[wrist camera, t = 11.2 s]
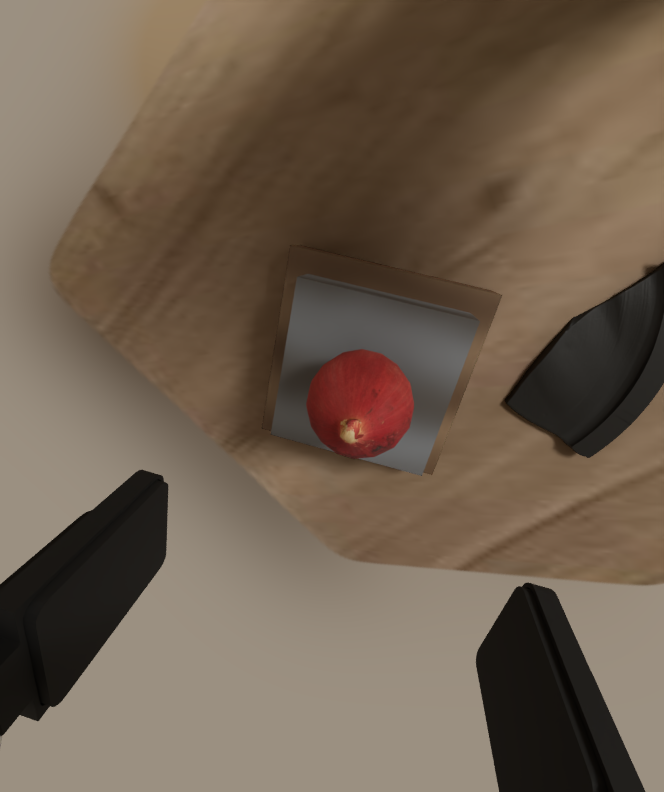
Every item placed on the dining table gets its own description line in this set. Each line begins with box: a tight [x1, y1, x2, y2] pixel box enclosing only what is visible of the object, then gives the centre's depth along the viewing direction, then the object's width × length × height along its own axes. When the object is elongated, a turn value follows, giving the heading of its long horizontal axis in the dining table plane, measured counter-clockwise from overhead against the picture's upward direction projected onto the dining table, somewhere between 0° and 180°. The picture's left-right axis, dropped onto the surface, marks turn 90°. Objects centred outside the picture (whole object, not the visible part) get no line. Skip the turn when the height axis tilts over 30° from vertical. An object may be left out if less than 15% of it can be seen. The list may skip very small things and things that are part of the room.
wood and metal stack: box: [262, 245, 502, 476], centre depth 26 cm, size 14×14×6 cm
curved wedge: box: [505, 263, 664, 458], centre depth 26 cm, size 8×14×2 cm, turn 150°
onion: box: [306, 349, 414, 459], centre depth 20 cm, size 6×6×8 cm
